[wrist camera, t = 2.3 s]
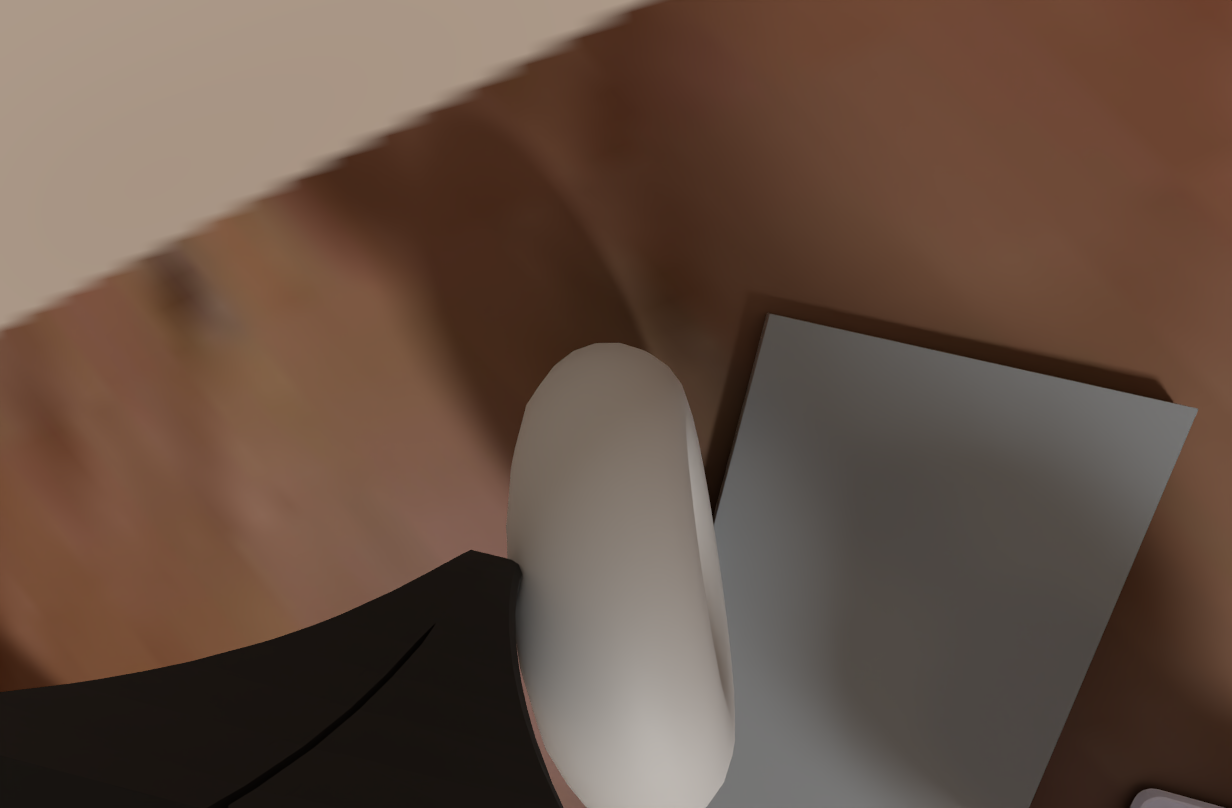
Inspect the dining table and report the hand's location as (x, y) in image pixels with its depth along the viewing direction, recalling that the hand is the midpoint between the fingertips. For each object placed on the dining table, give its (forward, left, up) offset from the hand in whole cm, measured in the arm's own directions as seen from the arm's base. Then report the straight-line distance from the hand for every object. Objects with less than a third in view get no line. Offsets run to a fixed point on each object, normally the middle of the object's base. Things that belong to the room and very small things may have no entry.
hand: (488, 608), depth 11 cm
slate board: (-10, +5, -9) cm, 14 cm away
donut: (-2, 0, -9) cm, 9 cm away
